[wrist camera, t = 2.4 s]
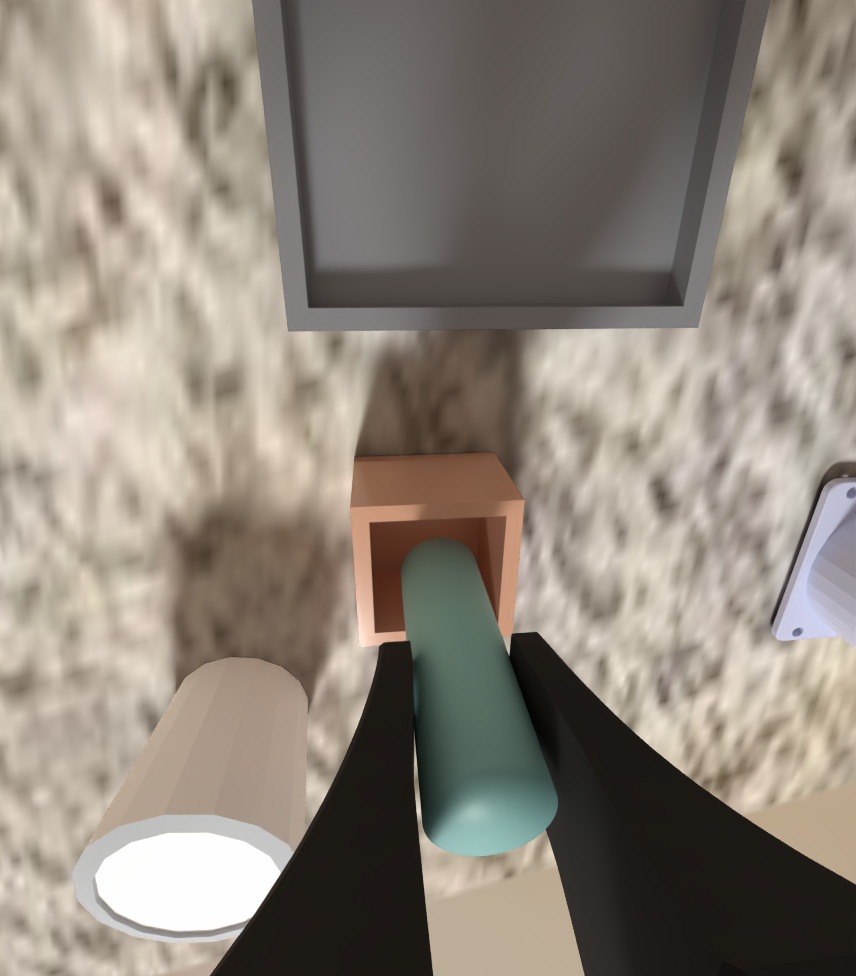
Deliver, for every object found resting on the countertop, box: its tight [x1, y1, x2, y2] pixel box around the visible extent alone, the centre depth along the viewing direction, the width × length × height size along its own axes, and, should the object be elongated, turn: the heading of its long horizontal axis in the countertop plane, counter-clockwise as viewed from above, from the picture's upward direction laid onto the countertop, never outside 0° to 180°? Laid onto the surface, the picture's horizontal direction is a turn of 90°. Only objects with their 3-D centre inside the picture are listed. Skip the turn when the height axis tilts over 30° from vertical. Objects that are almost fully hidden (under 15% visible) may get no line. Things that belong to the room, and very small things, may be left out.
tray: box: [252, 0, 770, 331], centre depth 13 cm, size 12×10×2 cm
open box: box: [350, 452, 525, 647], centre depth 17 cm, size 5×5×4 cm
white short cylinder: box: [71, 657, 308, 943], centre depth 19 cm, size 7×7×7 cm
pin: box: [400, 538, 558, 856], centre depth 12 cm, size 2×2×8 cm
